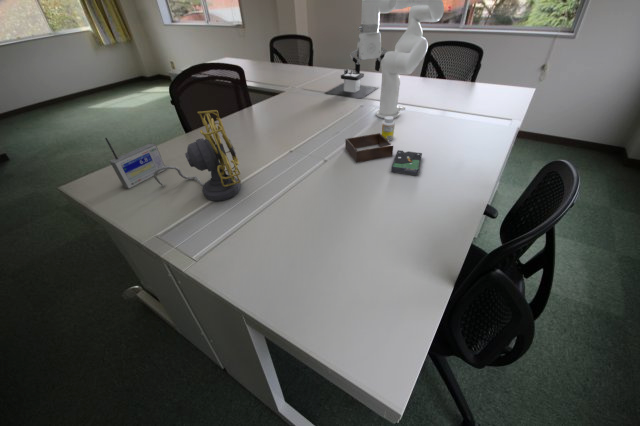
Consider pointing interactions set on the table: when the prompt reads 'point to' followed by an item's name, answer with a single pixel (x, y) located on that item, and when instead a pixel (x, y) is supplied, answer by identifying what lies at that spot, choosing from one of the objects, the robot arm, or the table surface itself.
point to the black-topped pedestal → (352, 86)
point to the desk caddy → (368, 154)
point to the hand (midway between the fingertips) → (367, 71)
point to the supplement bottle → (388, 128)
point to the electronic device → (137, 164)
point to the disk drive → (406, 162)
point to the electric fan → (212, 161)
